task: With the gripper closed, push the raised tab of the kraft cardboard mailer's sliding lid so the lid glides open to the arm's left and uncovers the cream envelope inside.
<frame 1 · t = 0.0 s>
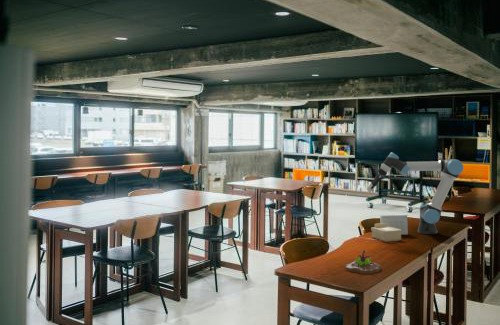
hand: (368, 191, 371), 36 cm above the table, tool tilted 35°, fingers open, 13 cm apart
skincare box: (393, 234, 374), on the table
lid: (386, 228, 356), point 8 cm above the table, slide at 0.0 cm
plant: (363, 269, 275), on the table
mailer base: (386, 238, 356), on the table
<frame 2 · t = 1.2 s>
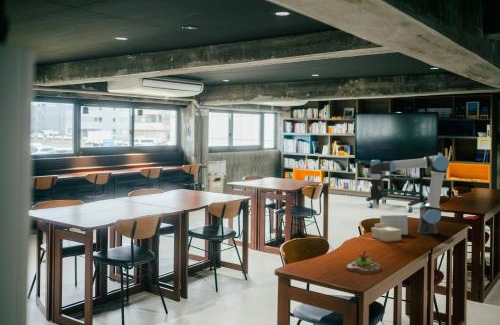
hand: (375, 207, 369), 23 cm above the table, tool pointing down, fingers open, 3 cm apart
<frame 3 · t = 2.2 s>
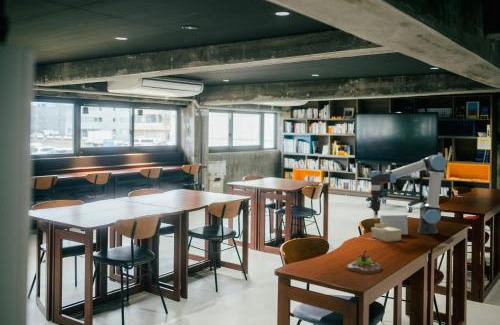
hand: (375, 218, 369), 14 cm above the table, tool pointing down, fingers closed
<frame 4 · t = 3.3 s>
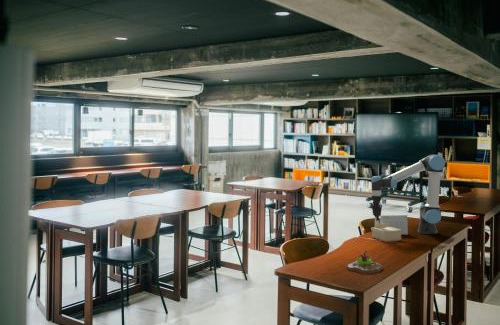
hand: (376, 224, 368), 9 cm above the table, tool pointing down, fingers closed
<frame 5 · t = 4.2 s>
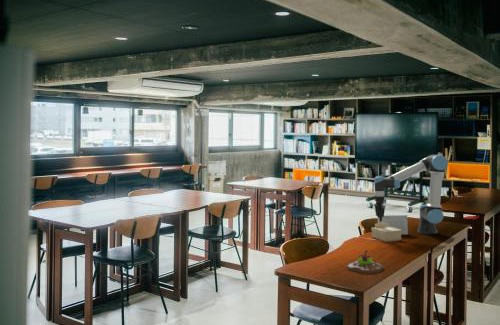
hand: (379, 225, 364), 9 cm above the table, tool pointing down, fingers closed
lid: (386, 228, 356), point 8 cm above the table, slide at 0.5 cm, touching gripper
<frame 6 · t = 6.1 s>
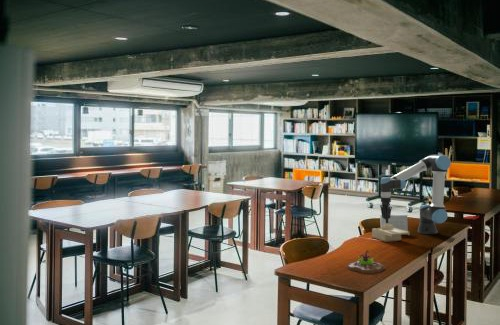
hand: (386, 227, 356), 9 cm above the table, tool pointing down, fingers closed
lid: (393, 230, 348), point 8 cm above the table, slide at 9.0 cm, touching gripper
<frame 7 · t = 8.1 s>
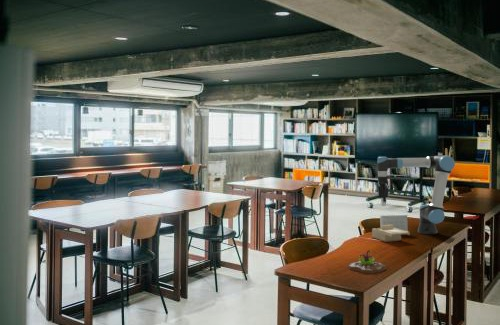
hand: (383, 205, 361), 25 cm above the table, tool pointing down, fingers closed
lid: (393, 230, 347), point 8 cm above the table, slide at 9.1 cm
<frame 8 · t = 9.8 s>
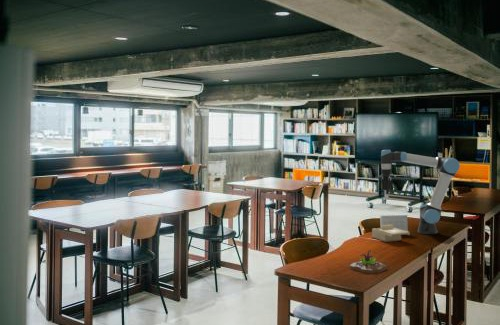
hand: (386, 198, 368), 30 cm above the table, tool pointing down, fingers closed
at the end: lid slide at 9.1 cm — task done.
